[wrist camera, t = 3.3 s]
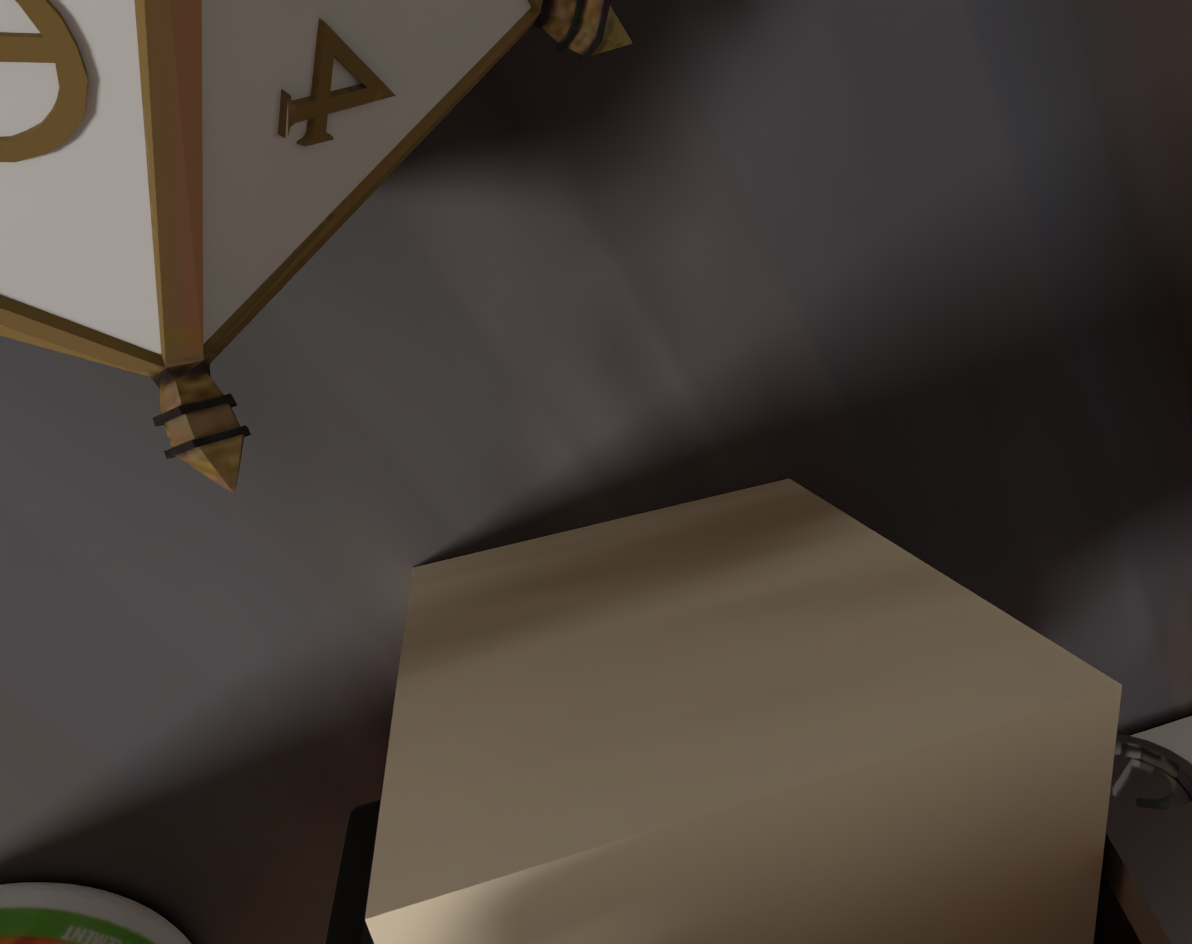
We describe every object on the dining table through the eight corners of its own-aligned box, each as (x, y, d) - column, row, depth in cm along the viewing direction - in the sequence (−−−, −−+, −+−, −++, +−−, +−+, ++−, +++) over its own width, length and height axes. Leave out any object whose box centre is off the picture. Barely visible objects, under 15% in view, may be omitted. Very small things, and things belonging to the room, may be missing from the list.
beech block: (412, 567, 10) (365, 919, 5) (789, 478, 11) (1121, 685, 6) (498, 870, 12) (535, 1363, 7) (811, 773, 13) (1071, 1139, 8)
